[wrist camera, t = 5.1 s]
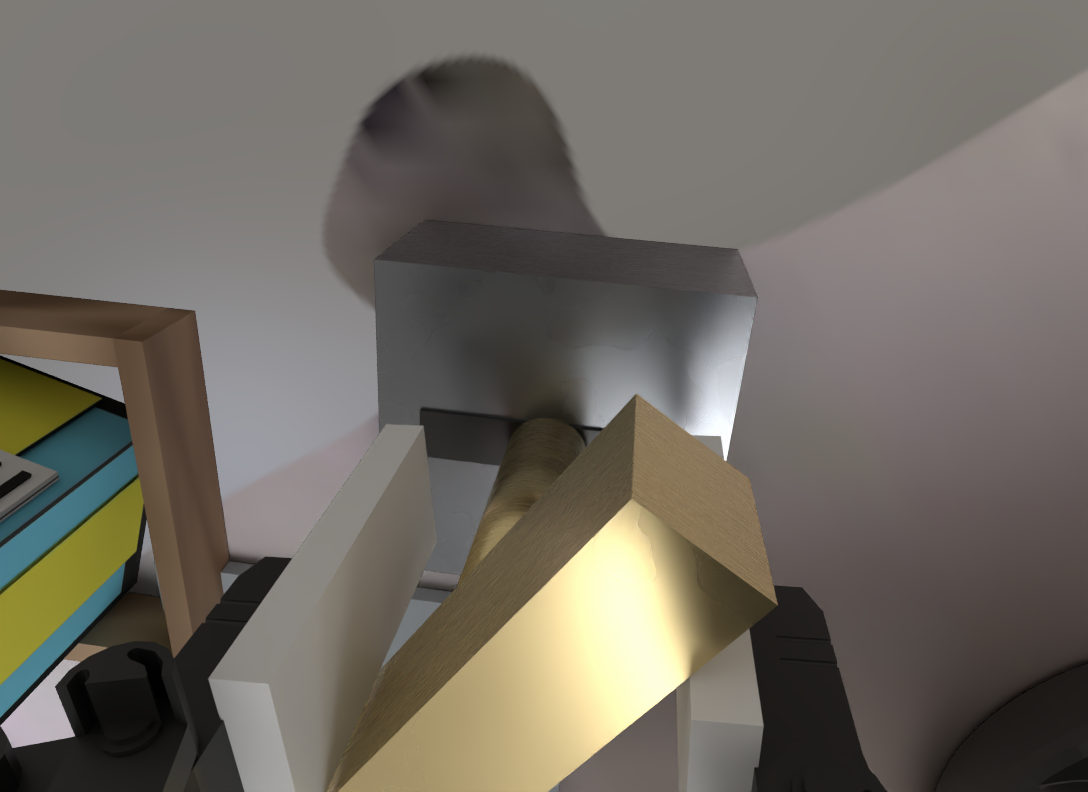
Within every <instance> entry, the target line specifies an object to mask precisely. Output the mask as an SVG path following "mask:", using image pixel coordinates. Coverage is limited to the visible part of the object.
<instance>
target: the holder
mask: <svg viewBox="0 0 1088 792" xmlns="http://www.w3.org/2000/svg"><path fill="white" fill-rule="evenodd" d="M0 354H8V355H17V356H25V357H35V358H43V359H52V360H60V361H69V362H77V363H87V364H94V365H103V366H112V367H118V369H119V374H120V379H121V385H122V390H123V395H124V401H125V406H126V411H127V417H128V422H129V427H130V432H131V438H132V443H133V448H134V453H135V459H136V464H137V469H138V474H139V480H140V485H141V490H142V496H143V501H144V506H145V511H146V517H147V522H148V527H149V532H150V538H151V543H152V548H153V553H154V559H155V564H156V569H157V575H158V580H159V585H160V590H161V596H162V601H163V606H164V611H163V608H162V603H161V597H155V596H148V595H141V594H134V593H126V594H125V595H124V596H123V597H122V598H121V599H120V600H119V601H118V603H117V604H116V605H115V606H114V607H113V608H112V609H111V610H110V611H109V612H108V613H107V614H106V615H105V616H104V617H103V618H102V619H101V620H100V621H99V622H98V623H97V625H96V626H95V627H94V628H93V629H92V630H91V631H90V632H89V633H88V634H87V635H86V636H85V637H84V638H83V639H82V640H81V641H80V642H79V643H78V644H77V646H76V647H75V648H74V649H73V650H72V651H71V652H70V653H69V654H68V655H67V656H66V657H65V658H64V659H67V660H73V661H80V662H82V661H83V660H85V659H86V658H87V657H89V656H91V655H93V654H95V653H98V652H100V651H102V650H104V649H107V648H109V647H111V646H114V645H119V644H123V643H128V642H133V641H148V642H156V643H158V644H160V645H162V646H165V647H167V648H168V649H169V650H170V652H171V654H172V656H173V658H175V657H176V655H177V654H178V653H179V652H180V650H181V649H182V648H183V646H184V645H185V644H186V643H187V641H188V640H189V639H190V637H191V636H192V635H193V634H194V632H195V631H196V630H197V628H198V627H199V626H200V625H201V623H205V621H206V617H207V616H208V614H209V613H210V612H211V610H212V609H213V608H214V607H215V605H216V604H220V601H221V600H220V599H221V598H222V596H223V595H224V593H223V586H222V579H221V571H222V570H223V569H224V568H225V566H226V565H227V564H228V563H229V561H230V560H229V553H228V546H227V538H226V531H225V524H224V517H223V509H222V502H221V495H220V488H219V481H218V473H217V466H216V459H215V451H214V444H213V438H212V430H211V423H210V416H209V408H208V402H207V394H206V386H205V380H204V372H203V365H202V357H201V350H200V343H199V336H198V329H197V322H196V314H195V311H192V310H183V309H174V308H164V307H155V306H146V305H136V304H127V303H118V302H109V301H99V300H90V299H81V298H72V297H61V296H53V295H44V294H35V293H25V292H16V291H6V290H0Z"/></svg>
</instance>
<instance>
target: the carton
mask: <svg viewBox="0 0 1088 792" xmlns="http://www.w3.org/2000/svg"><path fill="white" fill-rule="evenodd" d="M146 520H147V517H146V511H145V506H144V501H143V496H142V490H141V485H140V480H139V474H138V469H137V464H136V459H135V453H134V448H133V443H132V438H131V432H130V427H129V422H128V417H127V411H126V406H125V404H124V403H122V402H119V401H117V400H114V399H112V398H109V397H106V396H104V395H101V394H98V393H96V392H93V391H91V390H88V389H85V388H83V387H80V386H78V385H75V384H73V383H70V382H68V381H65V380H62V379H60V378H57V377H55V376H52V375H49V374H47V373H44V372H42V371H39V370H36V369H34V368H31V367H29V366H26V365H24V364H21V363H18V362H16V361H13V360H11V359H8V358H5V357H3V356H0V725H1V724H2V723H3V722H4V721H5V720H6V719H7V718H8V717H9V716H10V715H11V714H12V713H13V712H14V711H15V709H16V708H17V707H18V706H19V705H20V704H21V703H22V702H23V701H24V700H25V699H26V698H27V697H28V696H29V695H30V694H31V693H32V692H33V691H34V690H35V689H36V687H37V686H38V685H39V684H40V683H41V682H42V681H43V680H44V679H45V678H46V677H47V676H48V675H49V674H50V673H51V672H52V671H53V670H54V669H55V668H56V666H57V665H58V664H59V663H60V662H61V661H62V660H63V659H64V658H65V657H66V656H67V655H68V654H69V653H70V652H71V651H72V650H73V649H74V648H75V647H76V646H77V644H78V643H79V642H80V641H81V640H82V639H83V638H84V637H85V636H86V635H87V634H88V633H89V632H90V631H91V630H92V629H93V628H94V627H95V626H96V625H97V623H98V622H99V621H100V620H101V619H102V618H103V617H104V616H105V615H106V614H107V613H108V612H109V611H110V610H111V609H112V608H113V607H114V606H115V605H116V604H117V603H118V601H119V600H120V599H121V598H122V597H123V596H124V595H125V594H126V593H127V592H128V591H129V590H130V589H131V588H132V587H133V586H134V585H135V584H136V583H137V577H138V570H139V564H140V558H141V551H142V545H143V538H144V532H145V526H146Z"/></svg>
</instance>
